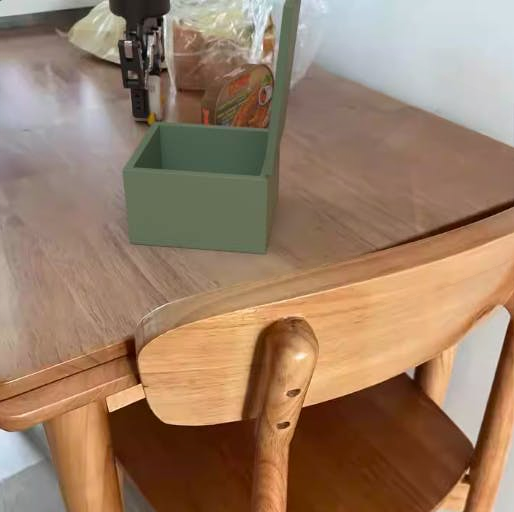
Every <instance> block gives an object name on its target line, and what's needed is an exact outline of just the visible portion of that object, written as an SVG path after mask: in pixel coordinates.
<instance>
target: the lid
mask: <svg viewBox="0 0 514 512" xmlns="http://www.w3.org/2000/svg"><path fill="white" fill-rule="evenodd" d="M301 5H302V0H285V1H284V3H283V6H282V7H283V8H282V17H281V23H280V31H279V42H278V47H277V48H278V49H277V57H276V66H275V74H274V90H273V99H272V107H271V115H270V120H269V123H268V129H269V132H268V141H267V149H266V158H265V166H264V175H270V176H272V174H273V170H274V166H275V162H276V158H277V154H278V150H279V146H280V147H281V143H282V137H283V134H284V131H285V126H286V119H287V113H288V104H289V97H290V96H289V95H290V89H291V82H292V81H291V80H292V73H293V66H294V58H295V51H296V44H297V37H298V36H297V35H298V28H299V20H300V13H301Z"/></svg>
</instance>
